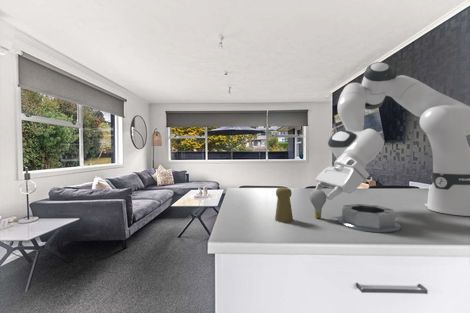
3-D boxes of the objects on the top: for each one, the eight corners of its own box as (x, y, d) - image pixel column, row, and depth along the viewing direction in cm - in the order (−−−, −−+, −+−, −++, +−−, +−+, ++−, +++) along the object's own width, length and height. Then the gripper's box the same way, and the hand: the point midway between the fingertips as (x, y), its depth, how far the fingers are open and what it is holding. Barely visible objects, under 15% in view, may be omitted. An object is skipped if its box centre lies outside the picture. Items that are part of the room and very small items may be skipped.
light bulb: (328, 220, 77) (327, 190, 77) (310, 220, 78) (310, 190, 78) (325, 216, 83) (324, 188, 82) (309, 215, 84) (308, 188, 83)
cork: (293, 222, 76) (293, 189, 76) (275, 222, 77) (274, 189, 76) (292, 217, 82) (291, 186, 81) (274, 217, 83) (274, 186, 82)
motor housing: (367, 214, 84) (367, 201, 84) (414, 229, 68) (414, 213, 68) (327, 218, 80) (327, 205, 80) (367, 235, 63) (367, 218, 63)
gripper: (326, 159, 92) (303, 185, 91) (359, 162, 72) (329, 194, 71) (337, 170, 92) (314, 196, 92) (373, 176, 72) (343, 208, 71)
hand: (321, 195), depth 81 cm, fingers open, 8 cm apart
